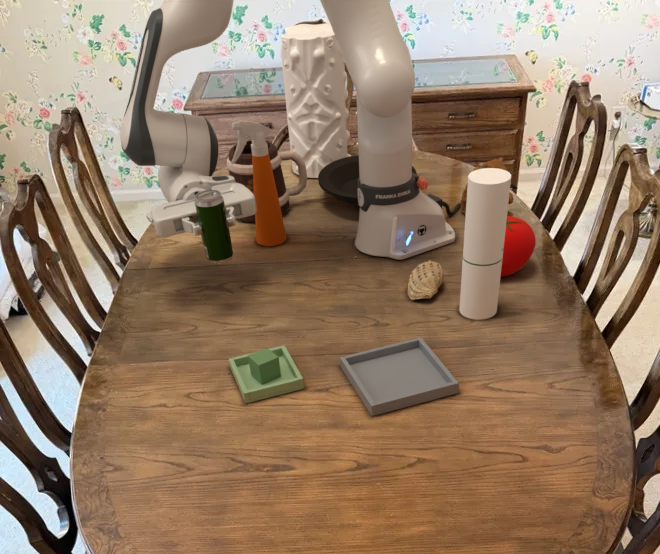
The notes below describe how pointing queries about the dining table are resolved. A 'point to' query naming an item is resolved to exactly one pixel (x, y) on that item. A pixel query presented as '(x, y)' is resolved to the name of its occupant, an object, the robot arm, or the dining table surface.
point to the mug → (244, 170)
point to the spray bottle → (261, 183)
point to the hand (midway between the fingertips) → (215, 226)
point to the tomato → (517, 245)
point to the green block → (264, 365)
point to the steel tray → (398, 376)
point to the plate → (342, 179)
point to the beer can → (214, 226)
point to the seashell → (425, 280)
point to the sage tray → (278, 386)
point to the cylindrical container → (484, 241)
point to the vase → (315, 95)
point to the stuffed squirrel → (490, 164)
